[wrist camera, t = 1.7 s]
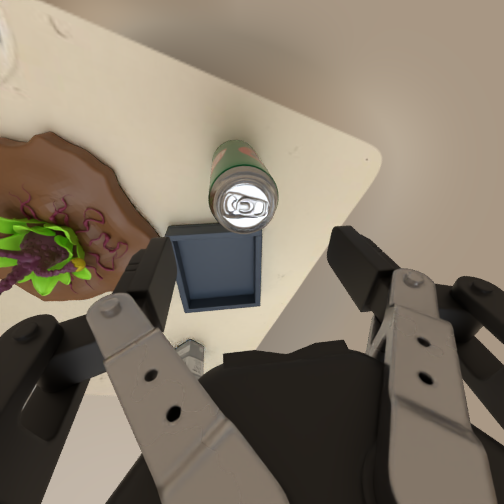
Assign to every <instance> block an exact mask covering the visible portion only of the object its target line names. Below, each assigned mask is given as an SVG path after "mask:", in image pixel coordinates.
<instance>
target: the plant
mask: <svg viewBox="0 0 504 504" xmlns="http://www.w3.org/2000/svg"><path fill="white" fill-rule="evenodd" d="M157 237H158V235H157V233H156V232H155V230H154V229H153V228H152V227H151V226H150V224H149V223H148V222H147V221H146V220H145V219H144V218H142V217H141V216H140V215H139V213H138V212H137V211H136V210H135V208H134V207H133V206H132V204H131V203H130V201H129V200H128V198H127V197H126V195H125V194H124V192H123V191H122V189H121V188H120V186H119V184H118V182H117V179H116V176H115V174H114V172H113V171H112V170H111V168H109V167H107V166H105V165H104V164H102V163H101V162H100V161H98V160H97V159H96V158H95V157H94V156H93V155H91V154H90V153H89V152H87V151H86V150H84V149H82V148H80V147H77V146H75V145H72V144H70V143H68V142H66V141H65V140H63V139H61V138H60V137H58V136H57V135H56V134H54V133H52V132H47V133H42V134H38V135H35V136H33V137H32V138H31V140H30V141H29V142H18V141H13V140H10V139H7V138H3V137H0V279H2V280H1V281H0V295H1V293H2V292H4V291H7V290H9V289H11V288H12V285H14V284H15V285H17V286H19V287H20V288H22V289H24V290H25V291H27V292H29V293H30V294H32V295H34V296H36V297H38V298H40V299H41V300H43V301H68V300H85V299H90V298H93V297H95V296H98V295H100V294H103V293H105V292H109V291H114V289H115V287H116V285H117V283H118V282H119V280H120V278H121V276H122V274H123V272H125V269H126V267H127V265H128V263H129V261H130V259H131V258H132V256H133V255H134V254H135V253H137V252H138V251H139V250H140V249H146V248H147V246H148V244H149V242H150V240H151V238H157Z"/></svg>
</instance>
